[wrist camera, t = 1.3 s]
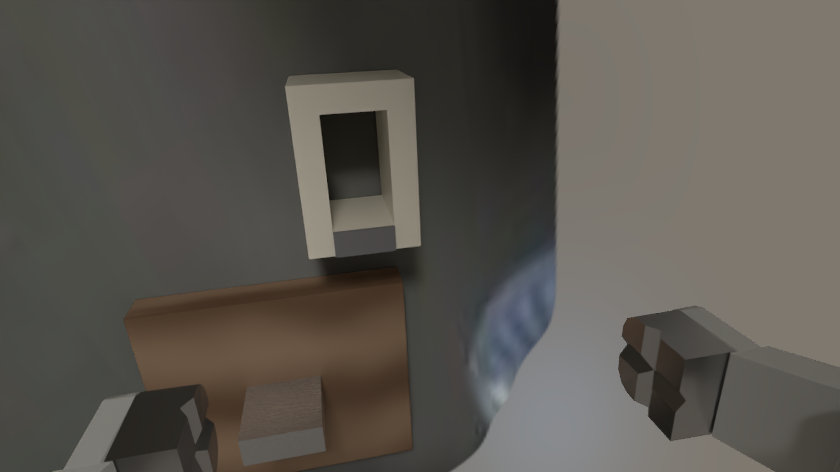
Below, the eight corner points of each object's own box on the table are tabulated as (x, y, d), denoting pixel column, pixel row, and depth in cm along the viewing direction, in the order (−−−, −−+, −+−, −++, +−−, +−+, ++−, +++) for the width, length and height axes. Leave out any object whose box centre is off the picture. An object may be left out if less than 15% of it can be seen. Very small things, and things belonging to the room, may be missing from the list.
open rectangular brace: (288, 75, 24) (284, 86, 20) (396, 69, 25) (414, 78, 21) (308, 223, 27) (309, 261, 23) (404, 213, 28) (421, 247, 24)
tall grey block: (246, 387, 28) (237, 441, 24) (320, 375, 28) (322, 426, 25) (251, 409, 28) (243, 466, 25) (323, 397, 29) (325, 451, 25)
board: (135, 299, 27) (123, 319, 25) (397, 266, 29) (402, 282, 27) (185, 466, 31) (178, 493, 30) (407, 426, 34) (412, 449, 32)
